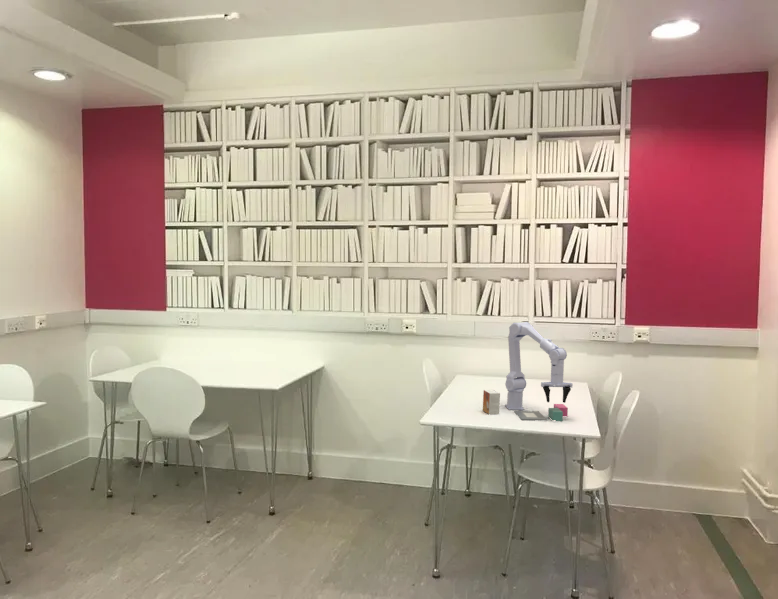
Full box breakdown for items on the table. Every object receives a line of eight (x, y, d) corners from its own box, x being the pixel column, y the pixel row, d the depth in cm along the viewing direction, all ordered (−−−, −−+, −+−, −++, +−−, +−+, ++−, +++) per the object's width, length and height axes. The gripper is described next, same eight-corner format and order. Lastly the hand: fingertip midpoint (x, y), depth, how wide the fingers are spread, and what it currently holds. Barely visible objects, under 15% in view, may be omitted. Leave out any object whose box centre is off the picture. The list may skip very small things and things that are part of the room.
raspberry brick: (553, 412, 311) (553, 403, 311) (562, 413, 311) (562, 404, 311) (557, 416, 303) (558, 407, 303) (567, 417, 303) (567, 407, 303)
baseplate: (514, 412, 310) (514, 410, 310) (538, 412, 310) (538, 411, 310) (521, 420, 294) (521, 418, 294) (547, 420, 294) (547, 419, 294)
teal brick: (548, 417, 302) (548, 407, 302) (557, 417, 302) (558, 408, 302) (552, 421, 294) (553, 411, 294) (562, 421, 294) (562, 412, 294)
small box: (482, 410, 311) (483, 389, 310) (493, 410, 312) (493, 389, 311) (488, 414, 303) (489, 393, 302) (499, 414, 304) (500, 392, 304)
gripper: (544, 374, 292) (543, 403, 293) (575, 375, 293) (573, 404, 293) (540, 372, 300) (539, 400, 300) (570, 372, 300) (569, 400, 300)
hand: (556, 402), depth 297 cm, fingers open, 7 cm apart
